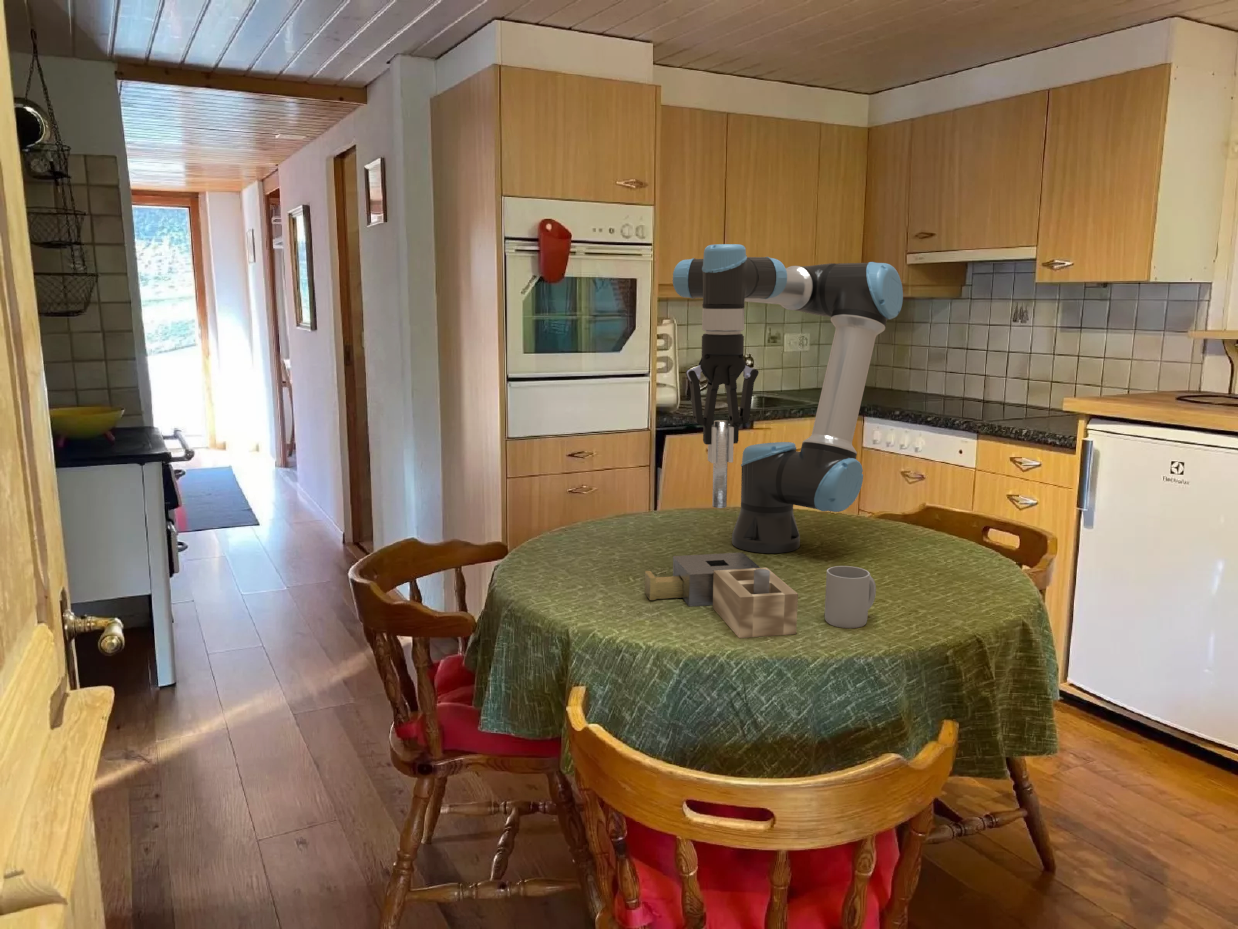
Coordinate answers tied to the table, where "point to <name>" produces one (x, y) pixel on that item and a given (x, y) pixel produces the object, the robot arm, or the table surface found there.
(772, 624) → the rack
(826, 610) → the cup
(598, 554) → the table surface
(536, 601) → the table surface
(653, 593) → the brass square peg
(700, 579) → the socket block
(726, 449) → the round-ended peg
